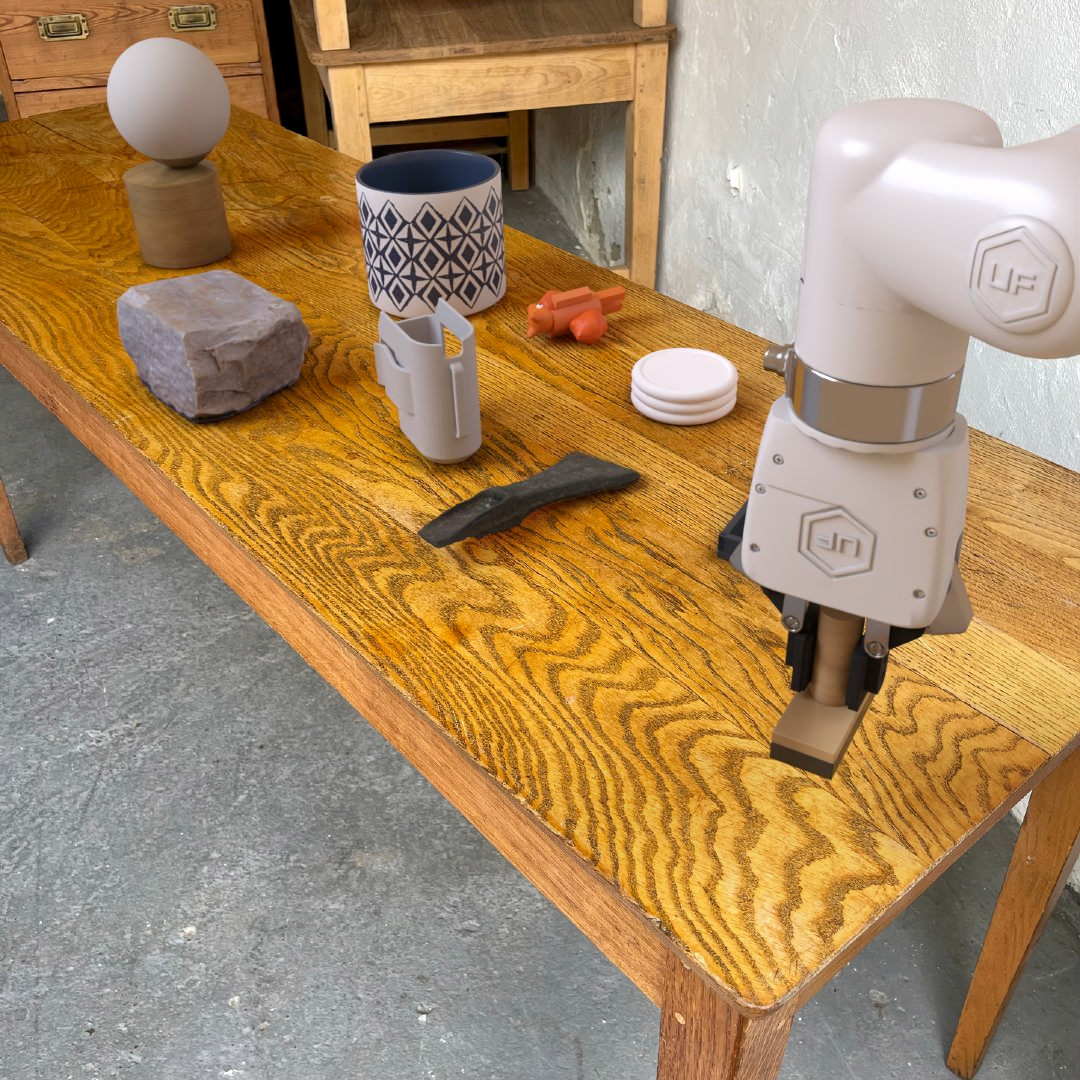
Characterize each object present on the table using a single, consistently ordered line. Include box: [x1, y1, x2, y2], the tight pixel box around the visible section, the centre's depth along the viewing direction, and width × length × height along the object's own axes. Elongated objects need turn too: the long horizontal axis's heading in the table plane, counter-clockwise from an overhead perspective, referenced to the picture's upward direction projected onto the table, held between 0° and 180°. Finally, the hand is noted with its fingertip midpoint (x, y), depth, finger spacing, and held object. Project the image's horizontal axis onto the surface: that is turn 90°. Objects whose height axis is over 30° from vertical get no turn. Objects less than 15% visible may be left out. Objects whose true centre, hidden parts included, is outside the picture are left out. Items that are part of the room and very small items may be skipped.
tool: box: [416, 451, 642, 549], centre depth 90 cm, size 21×8×3 cm, turn 135°
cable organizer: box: [372, 298, 483, 465], centre depth 97 cm, size 7×12×12 cm, turn 27°
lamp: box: [106, 36, 233, 270], centre depth 136 cm, size 15×14×25 cm
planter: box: [354, 148, 507, 320], centre depth 124 cm, size 16×16×14 cm
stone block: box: [116, 269, 312, 425], centre depth 110 cm, size 17×12×15 cm
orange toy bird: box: [526, 285, 627, 345], centre depth 117 cm, size 5×8×12 cm
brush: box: [769, 605, 877, 781], centre depth 61 cm, size 4×9×8 cm, turn 149°
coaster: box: [630, 347, 739, 426], centre depth 105 cm, size 10×10×4 cm
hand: (832, 684), depth 61 cm, fingers closed on brush, 2 cm apart
